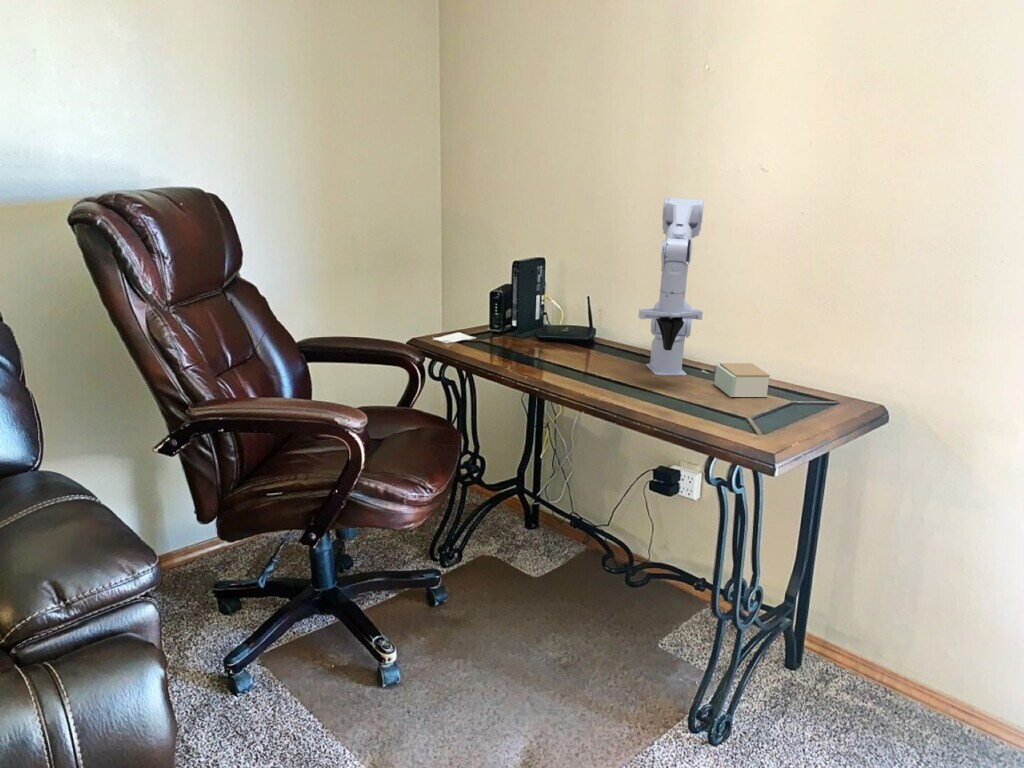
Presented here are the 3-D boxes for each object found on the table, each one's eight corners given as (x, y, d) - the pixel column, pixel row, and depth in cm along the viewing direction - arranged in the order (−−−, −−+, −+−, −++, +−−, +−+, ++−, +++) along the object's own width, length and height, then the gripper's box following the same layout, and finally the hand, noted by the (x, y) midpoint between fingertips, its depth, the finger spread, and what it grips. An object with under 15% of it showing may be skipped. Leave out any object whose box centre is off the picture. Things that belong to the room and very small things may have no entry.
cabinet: (717, 385, 190) (720, 363, 189) (749, 385, 191) (752, 363, 190) (733, 398, 181) (735, 375, 179) (766, 398, 182) (769, 375, 180)
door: (712, 382, 190) (714, 363, 189) (716, 382, 191) (718, 363, 189) (730, 397, 180) (732, 377, 179) (734, 397, 180) (736, 376, 179)
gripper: (646, 294, 175) (641, 353, 179) (709, 295, 177) (703, 353, 181) (638, 288, 182) (633, 345, 186) (699, 289, 184) (693, 346, 188)
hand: (667, 349), depth 184 cm, fingers closed
